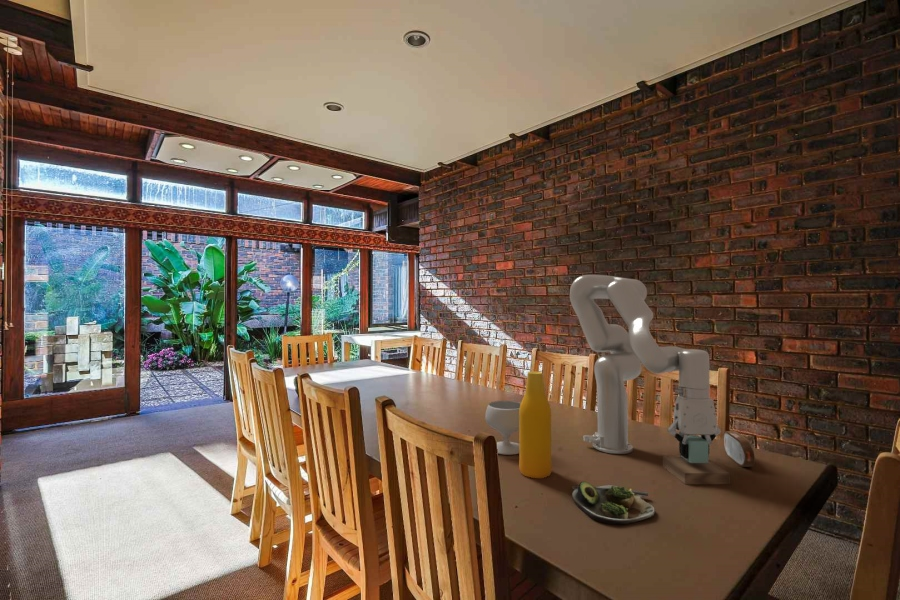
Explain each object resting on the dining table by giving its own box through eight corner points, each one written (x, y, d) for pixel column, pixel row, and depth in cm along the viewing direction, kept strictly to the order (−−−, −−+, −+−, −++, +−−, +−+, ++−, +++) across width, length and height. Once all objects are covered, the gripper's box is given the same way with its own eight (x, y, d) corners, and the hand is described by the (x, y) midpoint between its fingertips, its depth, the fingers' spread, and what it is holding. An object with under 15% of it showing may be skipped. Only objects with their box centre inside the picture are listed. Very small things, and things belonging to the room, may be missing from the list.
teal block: (690, 462, 117) (690, 441, 117) (680, 456, 122) (680, 435, 122) (708, 462, 117) (708, 441, 117) (697, 456, 122) (697, 435, 122)
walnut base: (685, 484, 114) (685, 473, 114) (662, 466, 126) (662, 456, 126) (729, 484, 114) (729, 473, 114) (703, 466, 125) (703, 456, 126)
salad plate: (627, 486, 113) (627, 469, 113) (676, 520, 96) (676, 499, 96) (561, 493, 109) (561, 476, 109) (601, 530, 92) (600, 509, 92)
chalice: (536, 451, 139) (536, 405, 139) (504, 460, 131) (504, 412, 131) (507, 439, 151) (507, 397, 151) (477, 447, 143) (476, 403, 143)
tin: (756, 471, 122) (755, 442, 122) (743, 471, 122) (743, 442, 122) (732, 453, 136) (732, 427, 136) (721, 452, 137) (721, 427, 137)
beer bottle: (516, 476, 119) (515, 374, 119) (522, 464, 128) (521, 369, 128) (549, 481, 116) (549, 376, 116) (553, 468, 125) (552, 370, 125)
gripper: (670, 396, 116) (671, 461, 116) (732, 395, 116) (733, 461, 116) (657, 390, 123) (657, 452, 123) (715, 390, 123) (715, 452, 123)
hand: (694, 456), depth 120 cm, fingers closed on teal block, 5 cm apart
